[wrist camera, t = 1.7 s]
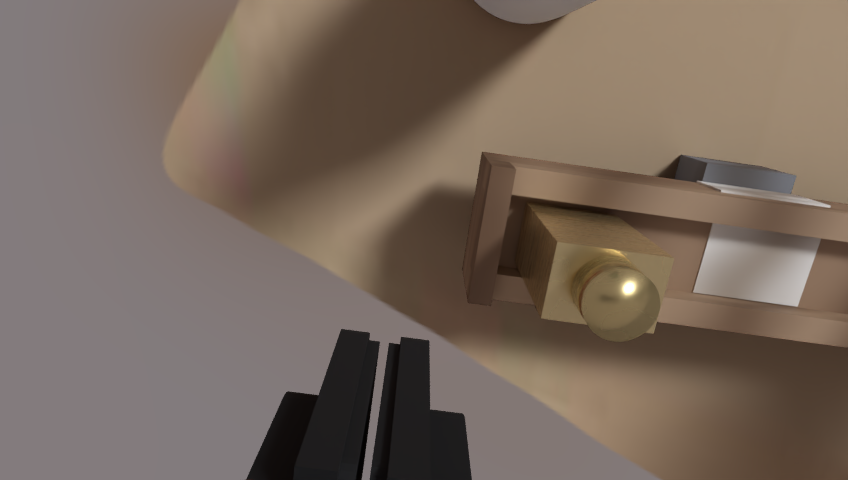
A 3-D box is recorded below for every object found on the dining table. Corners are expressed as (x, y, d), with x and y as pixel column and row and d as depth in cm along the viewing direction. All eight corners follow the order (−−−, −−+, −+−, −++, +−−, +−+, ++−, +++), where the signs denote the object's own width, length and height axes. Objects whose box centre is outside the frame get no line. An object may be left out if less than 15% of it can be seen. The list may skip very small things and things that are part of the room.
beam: (956, 194, 31) (1119, 230, 23) (901, 329, 33) (1034, 400, 26) (480, 125, 30) (496, 141, 23) (456, 268, 32) (464, 324, 25)
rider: (614, 214, 25) (696, 274, 17) (600, 273, 26) (672, 355, 18) (525, 201, 25) (568, 256, 17) (514, 261, 26) (550, 339, 18)
